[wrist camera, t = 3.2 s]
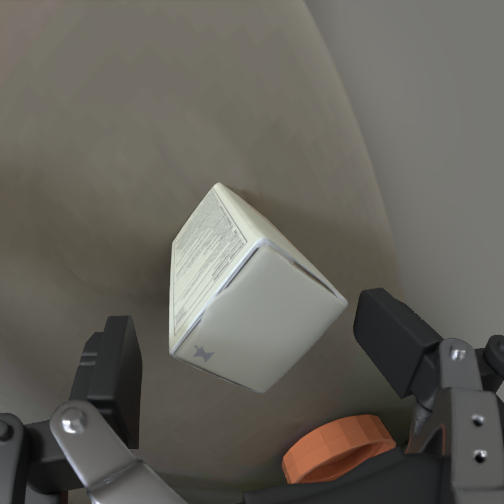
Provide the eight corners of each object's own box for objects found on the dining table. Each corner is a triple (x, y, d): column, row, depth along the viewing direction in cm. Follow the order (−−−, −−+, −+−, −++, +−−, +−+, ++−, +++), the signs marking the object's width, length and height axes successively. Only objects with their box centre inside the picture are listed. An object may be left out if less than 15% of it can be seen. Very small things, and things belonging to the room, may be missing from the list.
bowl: (392, 397, 32) (411, 424, 28) (363, 452, 38) (376, 475, 33) (285, 427, 30) (298, 463, 25) (276, 477, 35) (285, 504, 31)
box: (222, 276, 21) (258, 402, 11) (169, 242, 19) (160, 361, 9) (271, 216, 20) (355, 305, 10) (219, 176, 18) (263, 236, 8)
